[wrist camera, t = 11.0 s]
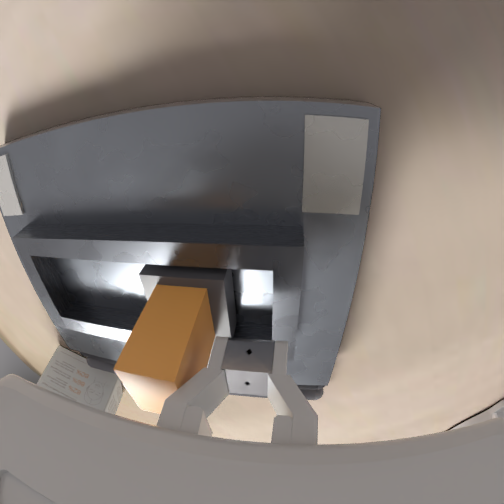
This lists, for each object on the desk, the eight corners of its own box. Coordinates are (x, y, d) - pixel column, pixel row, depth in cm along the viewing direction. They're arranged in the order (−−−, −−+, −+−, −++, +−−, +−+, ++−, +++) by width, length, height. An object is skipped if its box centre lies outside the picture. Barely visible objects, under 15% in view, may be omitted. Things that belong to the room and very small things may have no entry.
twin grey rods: (327, 369, 22) (328, 384, 20) (321, 388, 23) (322, 402, 22) (80, 338, 24) (74, 348, 23) (93, 358, 26) (87, 368, 25)
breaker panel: (368, 102, 11) (393, 114, 8) (326, 363, 21) (328, 404, 18) (4, 143, 14) (-33, 163, 11) (78, 333, 24) (61, 361, 21)
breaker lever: (230, 258, 14) (194, 377, 9) (236, 321, 16) (213, 427, 11) (151, 254, 14) (90, 356, 9) (168, 314, 17) (129, 410, 11)
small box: (67, 367, 29) (33, 435, 21) (58, 343, 26) (16, 419, 17) (124, 394, 30) (95, 469, 21) (122, 373, 27) (86, 460, 18)
